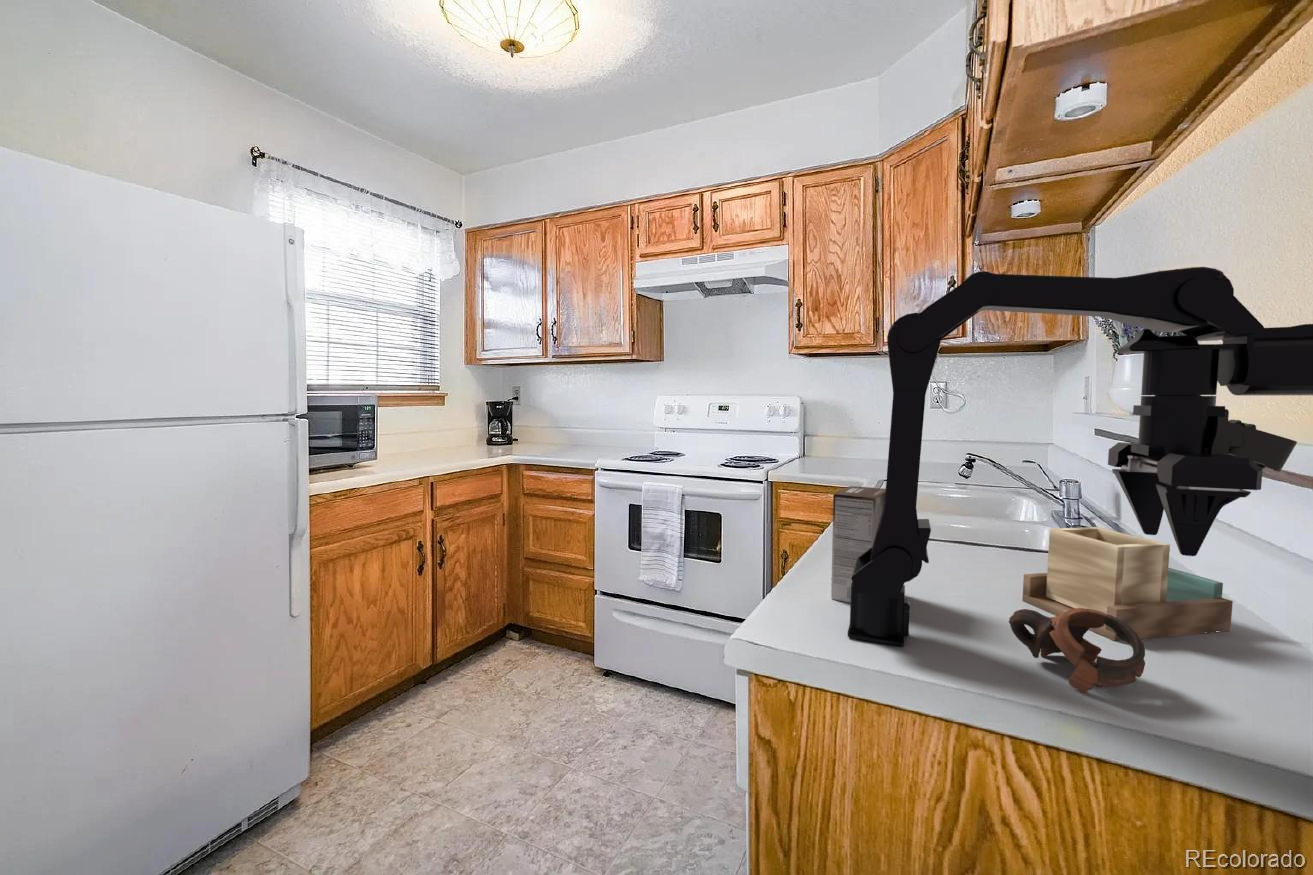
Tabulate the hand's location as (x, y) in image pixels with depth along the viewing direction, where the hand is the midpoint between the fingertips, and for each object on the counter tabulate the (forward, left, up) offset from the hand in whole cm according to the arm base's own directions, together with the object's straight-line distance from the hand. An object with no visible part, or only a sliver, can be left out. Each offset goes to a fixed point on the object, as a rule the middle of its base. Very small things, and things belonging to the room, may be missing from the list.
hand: (1167, 544), depth 59 cm
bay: (+2, +20, -15) cm, 25 cm away
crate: (0, +19, -13) cm, 23 cm away
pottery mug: (-8, -2, -15) cm, 17 cm away
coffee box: (-31, +14, -15) cm, 37 cm away
